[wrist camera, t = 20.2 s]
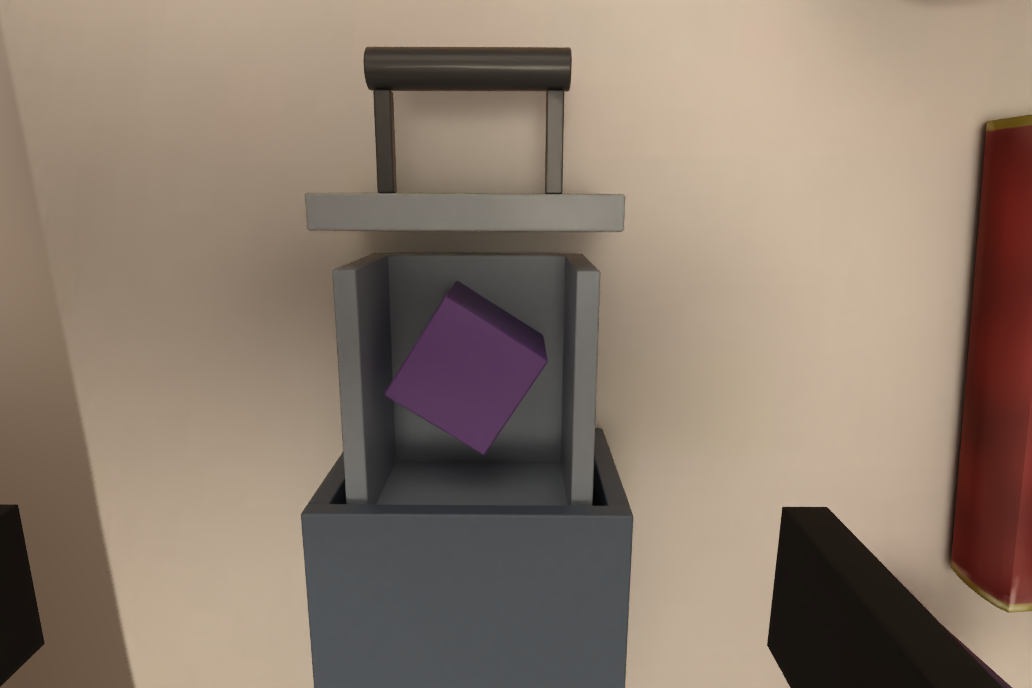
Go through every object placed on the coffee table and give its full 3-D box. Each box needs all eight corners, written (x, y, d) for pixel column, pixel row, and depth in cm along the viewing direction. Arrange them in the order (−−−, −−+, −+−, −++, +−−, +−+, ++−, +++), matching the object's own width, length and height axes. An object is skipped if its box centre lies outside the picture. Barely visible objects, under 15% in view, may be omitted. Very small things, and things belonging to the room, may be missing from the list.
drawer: (349, 69, 27) (293, 29, 20) (604, 70, 27) (632, 30, 20) (369, 466, 31) (327, 542, 24) (590, 468, 30) (610, 544, 24)
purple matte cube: (403, 364, 28) (383, 395, 24) (457, 279, 27) (445, 295, 23) (489, 417, 29) (484, 456, 24) (544, 335, 28) (548, 361, 24)
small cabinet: (359, 427, 31) (300, 513, 23) (602, 428, 31) (633, 515, 23) (372, 672, 34) (324, 828, 26) (593, 674, 34) (618, 831, 26)
